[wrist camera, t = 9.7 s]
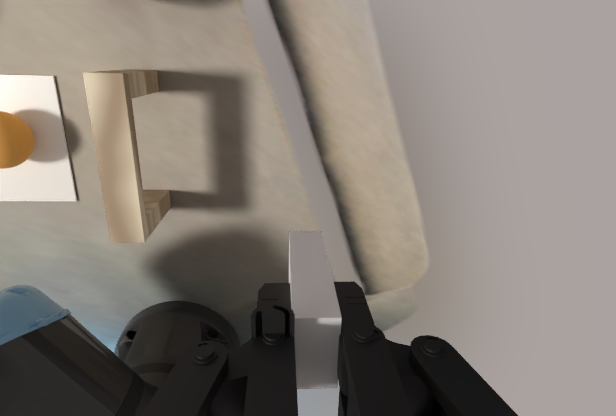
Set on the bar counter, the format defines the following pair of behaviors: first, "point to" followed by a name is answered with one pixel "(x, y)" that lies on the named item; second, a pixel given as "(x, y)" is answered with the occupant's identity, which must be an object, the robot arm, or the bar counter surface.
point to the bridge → (123, 153)
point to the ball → (14, 141)
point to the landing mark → (37, 142)
